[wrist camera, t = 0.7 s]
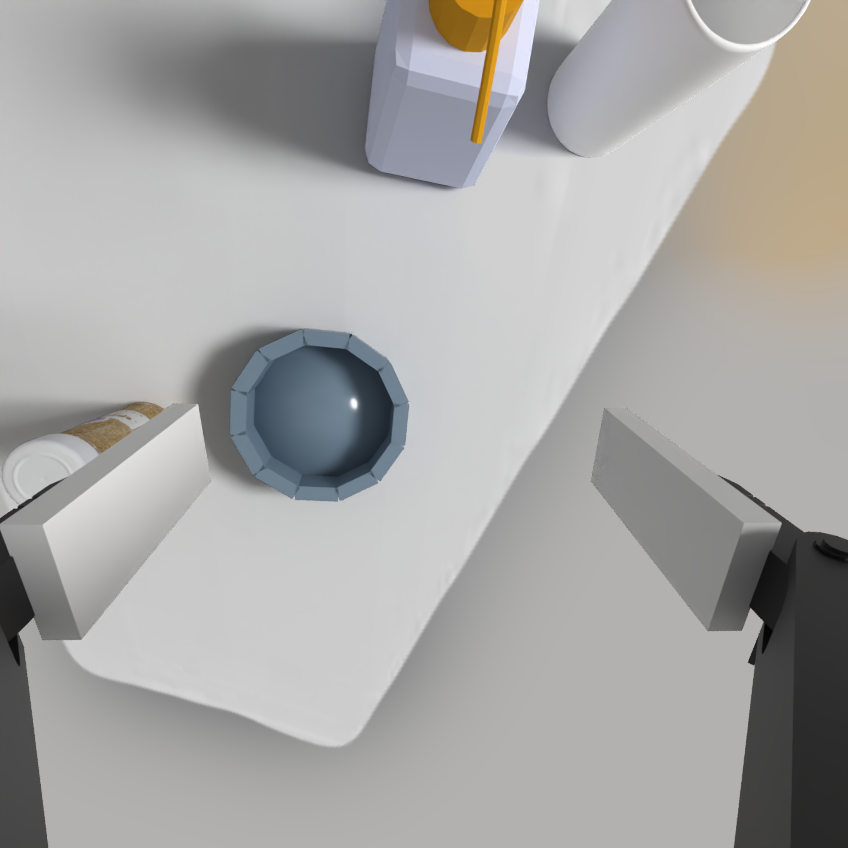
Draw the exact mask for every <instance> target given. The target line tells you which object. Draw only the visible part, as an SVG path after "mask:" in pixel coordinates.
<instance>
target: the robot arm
mask: <svg viewBox="0 0 848 848" xmlns="http://www.w3.org/2000/svg"><path fill="white" fill-rule="evenodd" d="M210 481H211V478H210V472H209V466H208V460H207V454H206V448H205V442H204V436H203V431H202V425H201V419H200V413H199V407H198V404H172V405H171V406H169V407H168V408H166V409H165V410H163V411H162V412H161V413H159V414H158V415H156V416H155V417H153V418H152V419H150V420H149V421H148V422H146V423H145V424H143V425H142V426H140V427H139V428H137V429H136V430H135V431H133V432H132V433H130V434H129V435H127V436H126V437H124V438H123V439H122V440H120V441H119V442H117V443H116V444H114V445H113V446H112V447H110V448H109V449H107V450H106V451H104V452H103V453H101V454H100V455H99V456H97V457H96V458H94V459H93V460H91V461H90V462H88V463H87V464H86V465H84V466H83V467H81V468H80V469H78V470H77V471H75V472H74V473H73V474H71V475H70V476H68V477H66V478H64V479H61V480H59V481H57V482H54V483H52V484H50V485H48V486H47V487H45V488H44V489H42V490H41V491H39V492H38V493H36V494H35V495H33V496H32V499H28V500H26V501H25V502H23V503H22V504H20V505H19V506H18V508H17V509H13V510H11V511H10V512H8V513H7V514H6V515H4V516H3V517H1V518H0V848H48V842H47V833H46V825H45V817H44V808H43V800H42V792H41V784H40V776H39V768H38V759H37V751H36V743H35V735H34V727H33V718H32V710H31V702H30V694H29V686H28V677H27V669H26V661H25V653H24V646H23V644H22V641H21V639H20V636H19V634H18V632H20V631H21V629H23V628H24V627H25V625H27V624H28V623H29V621H30V620H31V619H32V618H33V617H34V619H35V622H36V624H37V627H38V630H39V632H40V635H41V638H42V640H82V638H83V637H84V636H85V635H86V633H87V632H88V631H89V630H90V629H91V627H92V626H93V625H94V624H95V622H96V621H97V620H98V619H99V617H100V616H101V615H102V614H103V613H104V611H105V610H106V609H107V608H108V606H109V605H110V604H111V603H112V602H113V600H114V599H115V598H116V597H117V595H118V594H119V593H120V592H121V591H122V589H123V588H124V587H125V586H126V584H127V583H128V582H129V581H130V579H131V578H132V577H133V576H134V575H135V573H136V572H137V571H138V570H139V568H140V567H141V566H142V565H143V564H144V562H145V561H146V560H147V559H148V557H149V556H150V555H151V554H152V552H153V551H154V550H155V549H156V548H157V546H158V545H159V544H160V543H161V541H162V540H163V539H164V538H165V537H166V535H167V534H168V533H169V532H170V530H171V529H172V528H173V527H174V526H175V524H176V523H177V522H178V521H179V519H180V518H181V517H182V516H183V514H184V513H185V512H186V511H187V510H188V508H189V507H190V506H191V505H192V503H193V502H194V501H195V500H196V499H197V497H198V496H199V495H200V494H201V492H202V491H203V490H204V489H205V487H206V486H207V485H208V484H209V483H210ZM591 482H592V483H593V485H594V486H595V487H596V489H597V490H598V491H599V492H600V493H601V495H602V496H603V498H604V499H605V500H606V501H607V503H608V504H609V505H610V506H611V508H612V509H613V510H614V512H615V513H616V514H617V515H618V517H619V518H620V519H621V520H622V521H623V523H624V524H625V526H626V527H627V528H628V530H629V531H630V532H631V533H632V535H633V536H634V537H635V538H636V540H637V541H638V542H639V544H640V545H641V546H642V548H643V549H644V550H645V551H646V552H647V554H648V555H649V556H650V558H651V559H652V560H653V561H654V563H655V564H656V565H657V567H658V568H659V569H660V571H661V572H662V573H663V574H664V575H665V577H666V578H667V579H668V581H669V582H670V583H671V584H672V586H673V587H674V589H675V590H676V591H677V592H678V594H679V595H680V596H681V597H682V599H683V600H684V601H685V603H686V604H687V605H688V606H689V608H690V609H691V610H692V611H693V613H694V614H695V615H696V617H697V618H698V619H699V621H700V622H701V623H702V624H703V626H704V627H705V628H706V630H707V631H741V630H742V629H743V626H744V623H745V621H746V618H747V616H748V613H749V610H750V608H751V609H752V610H753V611H754V612H755V613H756V614H757V615H758V616H759V617H760V618H761V619H762V620H763V621H764V623H763V625H762V628H761V630H760V633H759V636H758V638H757V640H756V643H755V646H754V648H753V651H752V653H751V656H750V658H749V661H748V663H750V664H752V665H755V669H754V678H753V686H752V695H751V704H750V713H749V721H748V731H747V739H746V747H745V756H744V765H743V773H742V782H741V791H740V800H739V808H738V818H737V826H736V835H735V844H734V848H848V540H846V539H843V538H841V537H838V536H834V535H830V534H825V533H821V532H805V533H804V532H803V531H802V530H800V529H799V528H797V527H796V526H795V525H793V524H792V523H791V522H789V521H788V520H786V519H785V518H784V517H782V516H781V515H779V514H778V513H777V512H775V511H774V510H773V509H771V508H770V507H767V506H765V504H764V503H763V502H762V501H760V500H759V499H757V498H756V497H753V495H752V494H751V493H749V492H748V491H746V490H745V489H744V488H742V487H741V486H739V485H738V484H736V483H734V482H732V481H730V480H728V479H725V478H723V477H721V476H719V475H717V474H715V473H714V472H712V471H711V470H710V469H708V468H707V467H706V466H705V465H703V464H702V463H701V462H699V461H698V460H696V459H695V458H694V457H692V456H691V455H690V454H688V453H687V452H686V451H684V450H683V449H682V448H680V447H679V446H678V445H676V444H675V443H674V442H672V441H671V440H670V439H668V438H667V437H665V436H664V435H663V434H661V433H660V432H659V431H657V430H656V429H655V428H653V427H652V426H651V425H649V424H648V423H647V422H645V421H644V420H643V419H641V418H640V417H639V416H637V415H636V414H635V413H633V412H632V411H630V410H629V409H628V408H604V412H603V417H602V423H601V429H600V434H599V439H598V446H597V451H596V457H595V461H594V467H593V473H592V478H591Z"/></svg>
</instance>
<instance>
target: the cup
mask: <svg viewBox="0 0 848 848" xmlns="http://www.w3.org/2000/svg"><path fill="white" fill-rule="evenodd" d="M810 1H811V0H612V1H611V2H610V3H609V5H608V6H607V7H606V8H605V10H604V11H603V12H602V14H601V15H600V16H599V17H598V19H597V20H596V21H595V22H594V24H593V25H592V26H591V27H590V29H589V30H588V31H587V32H586V34H585V35H584V36H583V37H582V39H581V40H580V41H579V42H578V44H577V45H576V46H575V48H574V49H573V50H572V51H571V53H570V54H569V55H568V56H567V58H566V59H565V60H564V61H563V63H562V64H561V65H560V66H559V68H558V69H557V71H556V73H555V74H554V76H553V79H552V81H551V84H550V87H549V92H548V99H547V109H548V117H549V121H550V124H551V127H552V129H553V131H554V133H555V135H556V137H557V138H558V140H559V141H560V142H561V143H562V144H563V145H564V146H565V147H566V148H567V149H568V150H570V151H571V152H573V153H575V154H577V155H580V156H583V157H600V156H603V155H606V154H608V153H611V152H612V151H614V150H615V149H617V148H618V147H620V146H621V145H623V144H624V143H626V142H627V141H629V140H630V139H632V138H633V137H635V136H636V135H638V134H639V133H641V132H642V131H644V130H645V129H647V128H648V127H650V126H651V125H653V124H654V123H656V122H657V121H659V120H660V119H662V118H663V117H665V116H666V115H667V114H669V113H670V112H672V111H673V110H675V109H676V108H678V107H679V106H681V105H682V104H684V103H685V102H687V101H688V100H690V99H691V98H693V97H694V96H696V95H697V94H699V93H700V92H702V91H703V90H705V89H706V88H708V87H709V86H711V85H712V84H714V83H715V82H717V81H718V80H720V79H721V78H723V77H724V76H725V75H727V74H728V73H730V72H731V71H733V70H734V69H736V68H737V67H739V66H740V65H742V64H743V63H745V62H746V61H748V60H749V59H751V58H752V57H754V56H755V55H757V54H758V53H760V52H761V51H763V50H764V49H765V48H767V47H768V46H770V45H771V44H773V43H774V42H776V41H777V40H778V39H780V38H781V37H782V36H783V35H784V34H786V33H787V32H788V31H789V30H790V29H791V28H792V27H793V26H794V25H795V24H796V22H797V21H798V20H799V19H800V17H801V16H802V15H803V13H804V11H805V10H806V8H807V6H808V5H809V3H810Z"/></svg>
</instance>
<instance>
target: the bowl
mask: <svg viewBox="0 0 848 848" xmlns="http://www.w3.org/2000/svg"><path fill="white" fill-rule="evenodd" d="M232 388H233V390H231V401H230V434H232V435H233V436H231V439H232V441H233V442H234V444H235V446H236V447H237V449H238V451H239V453H240V454H241V456H242V458H243V459H244V461H245V463H246V464H247V466H248V468H249V470H250V471H251V473H252V475H253V474H256V473H257V474H256V476H255V477H256V478H257V479H259V480H261V481H262V482H264V483H266V484H268V485H269V486H271V487H273V488H274V489H276V490H278V491H279V492H281V493H283V494H285V495H286V496H288V497H290V498H291V499H292V498H293V497H294V496H295V500H313V501H337V502H338V497H339V499H340V501H341V500H344V499H346V498H348V497H350V496H352V495H354V494H356V493H358V492H360V491H362V490H365V489H367V488H369V487H371V486H373V485H375V484H377V483H378V480H379V481H381V480H382V478H383V477H384V475H385V474H386V473H387V471H388V470H389V468H390V467H391V466H392V464H393V463H394V461H395V460H396V459H397V457H398V456H399V454H400V453H401V452H402V450H403V449H404V447H403V445H405V441H406V431H407V421H408V411H409V404H408V399H407V397H406V395H405V393H404V391H403V389H402V386H401V384H400V382H399V380H398V378H397V375H396V373H395V371H394V369H393V367H392V365H391V363H390V362H389V360H388V359H387V358H386V357H384V356H383V355H381V354H380V353H379V352H377V351H376V350H374V349H373V348H372V347H370V346H369V345H367V344H366V343H365V342H363V341H362V340H360V339H359V338H358V337H356V336H355V335H353V334H352V336H350V333H345V332H336V331H326V330H316V329H301V330H298V331H296V332H294V333H292V334H290V335H287V336H285V337H283V338H281V339H279V340H276V341H274V342H272V343H270V344H268V345H265V346H263V347H261V348H259V350H256V352H255V353H254V355H253V356H252V358H251V359H250V361H249V362H248V364H247V365H246V367H245V368H244V370H243V371H242V373H241V374H240V376H239V377H238V379H237V380H236V382H235V383H234V385H233V386H232Z"/></svg>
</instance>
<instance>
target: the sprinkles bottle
mask: <svg viewBox="0 0 848 848" xmlns="http://www.w3.org/2000/svg"><path fill="white" fill-rule="evenodd" d="M163 410H164V409H163V408H161V407H159V406H157V405H155V404H152V403H145V402H143V403H134V404H132V405H129V406H127V407H126V408H125V409H123V410H120V411H116V412H112V413H110V414H107V415H105V416H102V417H100V418H97V419H94V420H92V421H89V422H86V423H84V424H81V425H79V426H77V427H75V428H73V429H70V430H67V431H64V432H63V433H59V434H57V433H55V434H48V435H44V436H41V437H38V438H35V439H33V440H30V441H28V442H25V443H23V444H21V445H19V446H18V447H16V448H15V449H13V450H12V451H11V452H10V454H9V455H8V456H7V458H6V459H5V461H4V464H3V467H2V480H3V484H4V487H5V489H6V491H7V493H8V494H9V496H10V497H11V498H12V499H13V500H14V501H15V502H16V503H17V504H19V505H20V504H22V503H23V502H25V501H26V500H28V499H32V496H33V495H35V494H36V493H38V492H39V491H41V490H42V489H44V488H45V487H47V486H48V485H50V484H52V483H54V482H57V481H59V480H61V479H64V478H66V477H68V476H70V475H71V474H73V473H74V472H75V471H77V470H78V469H80V468H81V467H83V466H84V465H86V464H87V463H88V462H90V461H91V460H93V459H94V458H96V457H97V456H99V455H100V454H101V453H103V452H104V451H106V450H107V449H109V448H110V447H112V446H113V445H114V444H116V443H117V442H119V441H120V440H122V439H123V438H124V437H126V436H127V435H129V434H130V433H132V432H133V431H135V430H136V429H137V428H139V427H140V426H142V425H143V424H145V423H146V422H148V421H149V420H150V419H152V418H153V417H155V416H156V415H158V414H159V413H161V412H162V411H163Z"/></svg>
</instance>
